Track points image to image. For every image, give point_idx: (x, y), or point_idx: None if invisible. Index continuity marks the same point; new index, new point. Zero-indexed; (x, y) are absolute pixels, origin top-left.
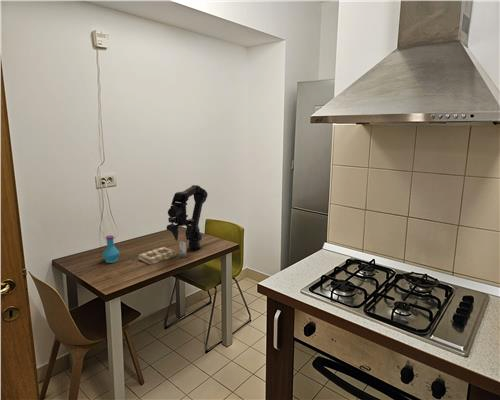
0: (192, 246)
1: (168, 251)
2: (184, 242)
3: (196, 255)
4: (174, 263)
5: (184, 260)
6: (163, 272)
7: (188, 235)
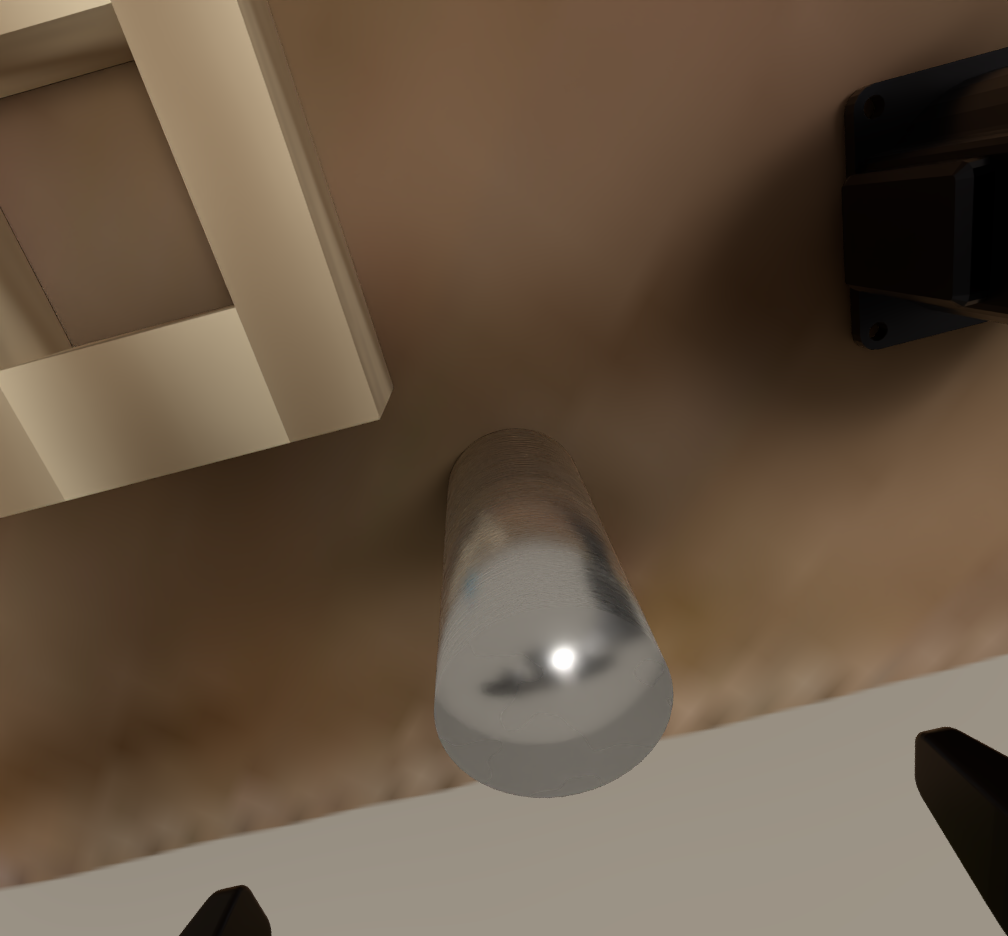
0: (917, 301)
1: (200, 333)
2: (587, 760)
3: (729, 585)
4: (243, 698)
5: None
6: (3, 880)
7: (964, 835)
